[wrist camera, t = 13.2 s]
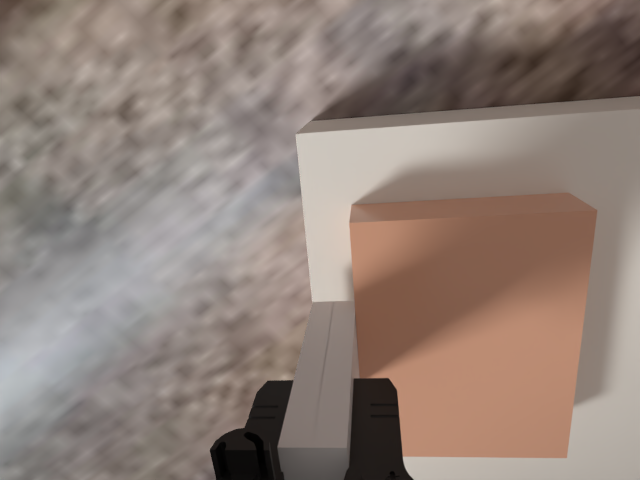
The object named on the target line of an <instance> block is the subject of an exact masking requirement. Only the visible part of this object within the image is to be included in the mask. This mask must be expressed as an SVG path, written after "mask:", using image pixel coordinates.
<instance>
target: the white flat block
mask: <svg viewBox="0 0 640 480" xmlns="http://www.w3.org/2000/svg"><path fill="white" fill-rule="evenodd" d="M296 142H297V152H298V162H299V172H300V182H301V192H302V202H303V213H304V223H305V233H306V243H307V253H308V263H309V273H310V283H311V293H312V303H313V302H326V301H354V286H353V272H352V257H351V242H350V228H349V220H350V212H351V205H356V204H373V203H391V202H409V201H426V200H444V199H462V198H479V197H497V196H515V195H533V194H551V193H570V194H572V195H574V196H575V197H577V198H578V199H580V200H582V201H583V202H585V203H587V204H588V205H590V206H592V207H593V208H595V209H596V210H597V218H596V226H595V234H594V242H593V251H592V259H591V267H590V275H589V283H588V291H587V299H586V307H585V315H584V324H583V332H582V340H581V348H580V356H579V364H578V372H577V380H576V388H575V396H574V405H573V413H572V421H571V429H570V437H569V445H568V453H567V458H498V457H403V462H404V466H405V468H406V470H407V472H408V474H409V475H410V476H411V477H412V478H413V479H414V480H640V96H634V97H620V98H607V99H594V100H581V101H568V102H554V103H541V104H528V105H515V106H502V107H488V108H475V109H462V110H449V111H436V112H422V113H409V114H396V115H383V116H370V117H356V118H343V119H330V120H317V121H310V122H309V123H307V124H306V125H305V126H304V127H303V128H302V129H301V130H300V131H298V132H297V133H296Z"/></svg>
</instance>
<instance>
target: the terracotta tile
mask: <svg viewBox="0 0 640 480" xmlns="http://www.w3.org/2000/svg"><path fill="white" fill-rule="evenodd" d="M596 218H597V210H596V209H595V208H593V207H592V206H590V205H588V204H587V203H585V202H583V201H582V200H580V199H578V198H577V197H575V196H574V195H572V194H570V193H551V194H533V195H515V196H497V197H479V198H462V199H444V200H426V201H409V202H391V203H373V204H356V205H351V212H350V220H349V228H350V242H351V257H352V272H353V286H354V301H355V316H356V331H357V345H358V360H359V375H360V378H389V379H390V381H391V382H392V383H393V385H394V386H395V388H396V389H397V395H398V406H399V418H400V430H401V441H402V453H403V457H498V458H567V453H568V445H569V437H570V429H571V421H572V413H573V405H574V396H575V388H576V380H577V372H578V364H579V356H580V348H581V340H582V332H583V324H584V315H585V307H586V299H587V291H588V283H589V275H590V267H591V259H592V251H593V242H594V234H595V226H596Z"/></svg>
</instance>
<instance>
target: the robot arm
mask: <svg viewBox="0 0 640 480" xmlns="http://www.w3.org/2000/svg"><path fill="white" fill-rule="evenodd" d="M210 453H211V457H212V462H213V466H214V471H215V475H216V480H414V479H413V478H412V477H411V476H410V475H409V474H408V472H407V470H406V468H405V466H404V462H403V453H402V441H401V430H400V418H399V406H398V395H397V389H396V388H395V386H394V385H393V383H392V382H391V381H390V379H389V378H360V375H359V360H358V345H357V331H356V316H355V301H326V302H313V303H312V307H311V311H310V315H309V319H308V324H307V328H306V332H305V336H304V340H303V344H302V348H301V352H300V357H299V361H298V365H297V369H296V373H295V377H294V380H287V381H267V382H266V383H265V384H264V385H263V387H262V388H261V389H260V390H259V391H258V392H257V394H256V397H255V400H254V402H253V405H252V408H251V411H250V414H249V419H248V420H247V423H246V426H245V428H241V429H235V430H233V431H230V432H228V433H226V434H224V435H223V436H221V437H220V438H219V439H218V440H216V441H215V443H214V444H213V446H212V447H211V449H210Z"/></svg>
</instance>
